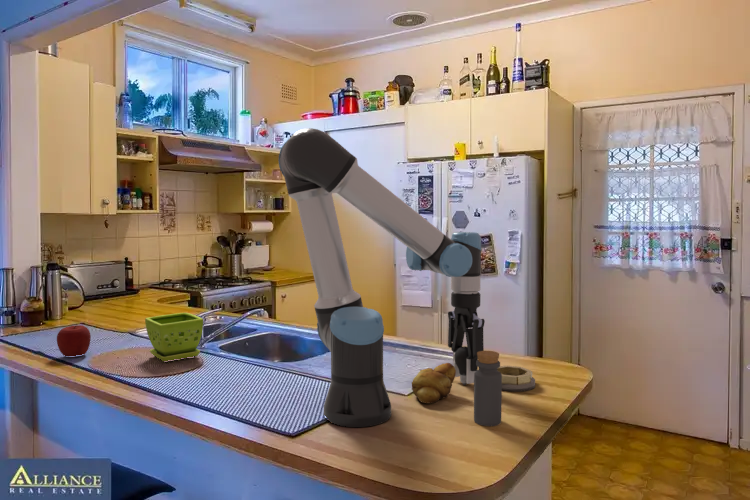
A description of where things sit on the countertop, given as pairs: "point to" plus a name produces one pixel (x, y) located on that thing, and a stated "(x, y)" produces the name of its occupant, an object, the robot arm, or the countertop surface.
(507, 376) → the octagonal rimmed dish
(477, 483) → the countertop surface
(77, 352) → the apple
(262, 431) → the countertop surface
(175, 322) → the flower pot
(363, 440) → the countertop surface
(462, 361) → the light bulb
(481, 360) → the bottle
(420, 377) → the bread roll
